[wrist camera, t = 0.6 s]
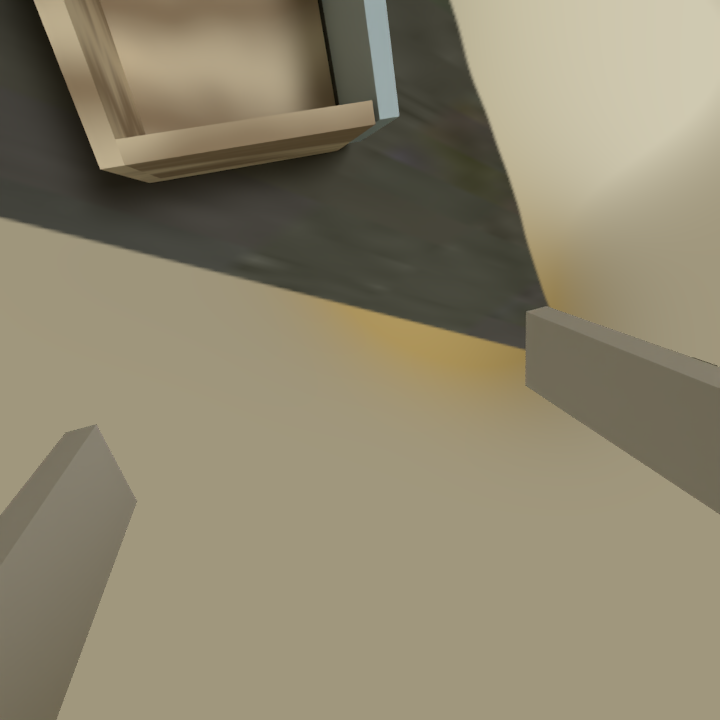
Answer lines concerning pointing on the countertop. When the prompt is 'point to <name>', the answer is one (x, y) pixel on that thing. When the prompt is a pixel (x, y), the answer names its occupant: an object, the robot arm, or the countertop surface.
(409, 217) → the countertop surface
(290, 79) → the crate
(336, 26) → the panel
